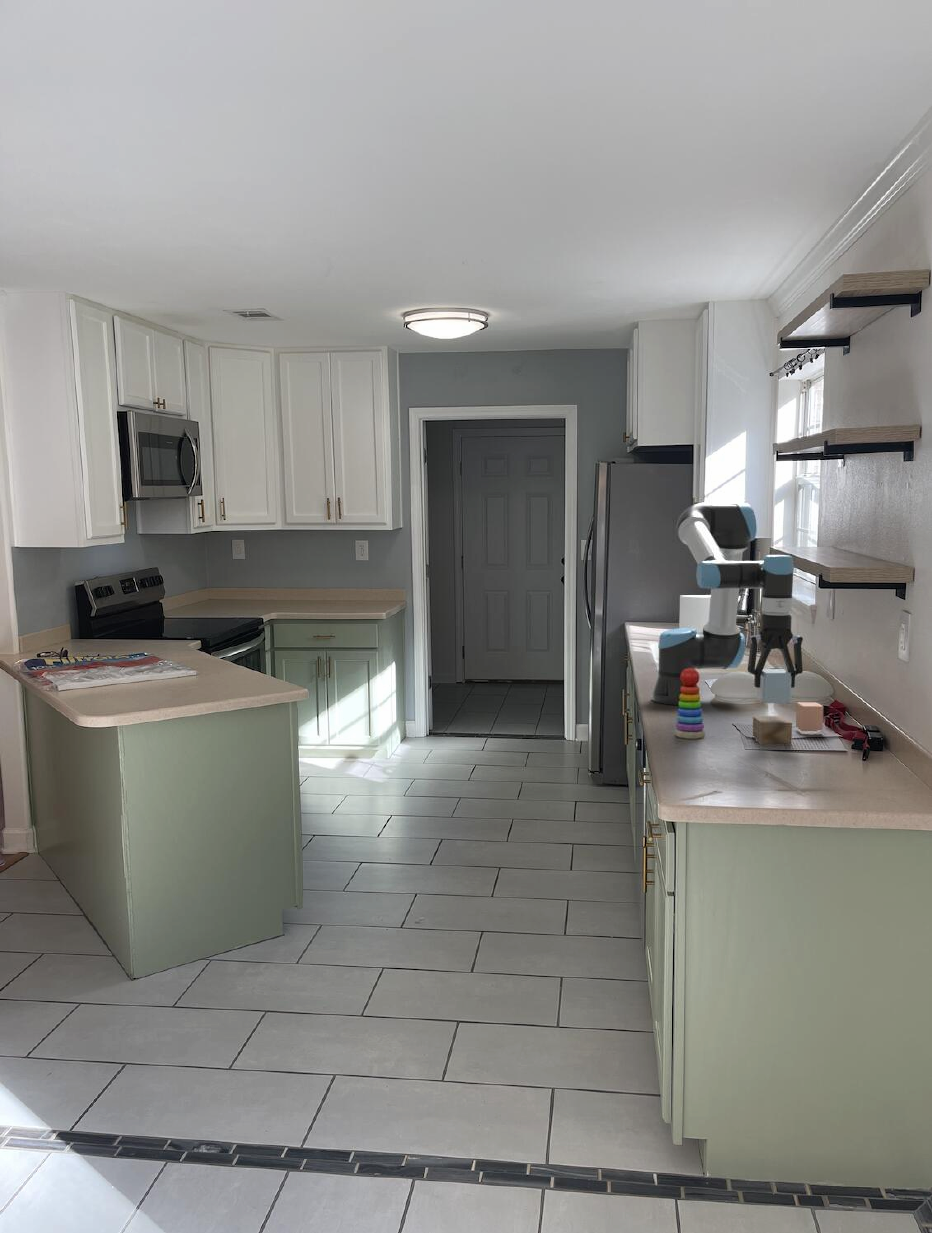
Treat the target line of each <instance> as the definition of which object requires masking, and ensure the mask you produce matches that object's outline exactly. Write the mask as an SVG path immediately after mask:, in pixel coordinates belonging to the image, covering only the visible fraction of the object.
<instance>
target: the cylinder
mask: <svg viewBox="0 0 932 1233" xmlns="http://www.w3.org/2000/svg"><path fill="white" fill-rule="evenodd" d="M710 597H711V594H705V595H703V594H701V595H699V594H698V595H695V594H693V595H689V594H687V595H682V594H681V595H679V620H678V622H679V625H678V626H679V628H694V629H696V631H697V633H703V626H704V625H705V624H706V623H708V621H709V609H710ZM679 628H678V629H679Z"/></svg>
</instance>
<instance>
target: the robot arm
mask: <svg viewBox="0 0 932 1233" xmlns="http://www.w3.org/2000/svg"><path fill="white" fill-rule="evenodd" d="M757 531H758V530H757V519H756V515H755V512H754V509H753V507H752V506H751V505H750V504H749V503H746V502H745V503H744V502H737V501H735V502H728V501H727V502H699V503H695V504H692V505H690V506H689V507H688V508H686V509H685V510H684V511H682V513H681V514H680V515H679V517H678V520H677V523H676V533H677V537H678V538H679V539H680V541H681V542H682V543H683V544H684V545H687V547H688V549H689V552H691V554H692V556H693V558H694V560H695V561H696V564H697V566H696V573H695V575H696V581H697V586H698V587H699V588H701V589H710V595H711V597H710V609H709V621H708V623H706V624H705V625H704V626H703V633H697V631H696V629H694V628H672V629H668V630H665V631H663V632H662V633H660V635H659V639H658V641H659V642H658V646H657V647H658V675H657V676H658V677H657V680H656V683H655V685H654V689H653V691H652V696H651V697H652V701H653V702H655V703H659V704H663V705H673V706H674V705H676V706H677V705H678V706H679V701H680V698H679V696H680V694H682V692H681V690H680V689H681V687H682V686H684V684H683V683H682V682H681V678H680V676H681V673H682V671H683V670H685V669H687V668H692V669H695V670H696V669H697V670H699V669H700V670H701V669H702V670H703V669H704V670H705V669H707V670H708V669H710V670H711V669H716V670H718V669H719V670H728V669H736V668H738V667H739V666H740V665H741V664H742V663H743V659H744V656H745V654H746V637H745V635H744V633H742V632H741V628H740V627H739V626H738V625H737V617H738V604H739V598H740V597H739V595H740V594H739V593H740V590H741V589H749V590H750V589H753V590H754V589H762V597H761V598H762V600H761V601H762V602H761V603H762V605H761V612H762V613H763V614H761V630H760V632H759V634H756V635H750V636H748V639H749V644H750V646H749V655H748V662H747V663H748V664H747V672H748V673H749V674H752V675H754V680H753V681H754V687H755V688H757V700H758V701H760V702H763V690H764V676H762V675H761V673H762V671H763V669H765V668H764V667H765V665H766V662H767V660H768V658H769V655H770V653H771V651H772V650H775V649H778V650H780V651H781V654H782V657H783V661H784V663H785V665H786V671H788V672H790V673H791V683H790V702H791V701H792V700H791V698H792V697H791V696H792V688H793V689H794V688H795V685H796V676H797V675H799V674H800V675H801V674H803V658H802V657H803V655H802V645H803V641H804V638H803V637H802V636H800V635H794V634H793V632H792V617H793V616H792V615H791V614H790V613H792V612H793V610H792V608H793V585H794V584H793V583H794V581H793V580H794V569H795V568H794V559H793V557H792V556H791V555H789V554H788V555H787V554H786V555H785V554H768V555H767V554H766V555H765V556H764V557H763V559H762V560H760V559H759V560H743V552H745V551H746V550H747V549H748V548H749V542H752V541H755V538H756V536H757ZM760 641H762V642H763V646H762V650H761V653H760V656H759V658H758V660H757V656H758V655H757V654H758V647H759V646H758V644H759V643H760ZM790 641H792V643H793V654H794V657H793V658H794V664H793V660H792V657H791V654H790V651H789V646H788V645H789V643H790ZM756 661H757V663H756ZM695 686H698V683H697V684H696V685H695ZM698 694H699V695H700V696H701V693H700V691H699V692H698ZM698 701H700V702H701V698H700V699H699V700H698Z"/></svg>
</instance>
